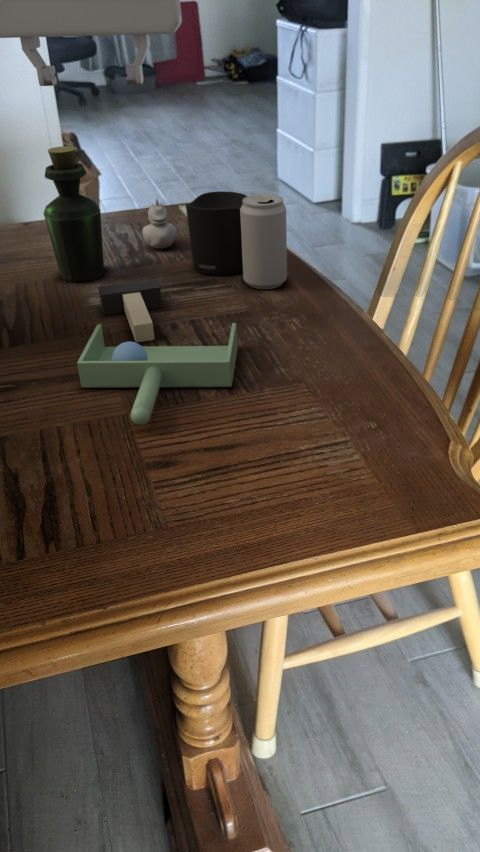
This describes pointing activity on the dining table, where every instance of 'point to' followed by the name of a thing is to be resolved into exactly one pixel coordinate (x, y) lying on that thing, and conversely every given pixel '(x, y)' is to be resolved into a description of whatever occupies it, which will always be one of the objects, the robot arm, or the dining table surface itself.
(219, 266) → the pen holder
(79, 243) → the potion bottle
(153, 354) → the dustpan
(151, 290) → the brush
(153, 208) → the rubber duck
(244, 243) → the beverage can
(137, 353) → the foam ball
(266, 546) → the dining table surface
